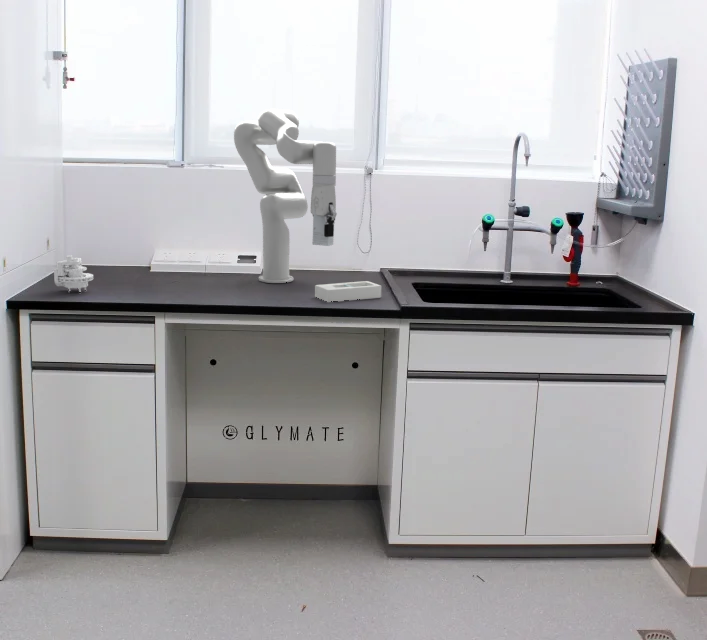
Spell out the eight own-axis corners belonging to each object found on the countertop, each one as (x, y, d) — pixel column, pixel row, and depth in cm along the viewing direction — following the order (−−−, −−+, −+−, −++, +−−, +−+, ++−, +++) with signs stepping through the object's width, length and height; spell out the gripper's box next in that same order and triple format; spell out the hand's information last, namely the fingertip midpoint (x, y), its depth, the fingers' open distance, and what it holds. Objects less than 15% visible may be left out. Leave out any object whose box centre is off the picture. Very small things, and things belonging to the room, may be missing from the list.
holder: (315, 297, 261) (315, 285, 260) (367, 292, 270) (367, 281, 270) (327, 302, 253) (327, 290, 252) (380, 297, 263) (381, 285, 262)
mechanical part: (82, 296, 253) (80, 259, 250) (48, 293, 255) (46, 257, 252) (100, 289, 263) (99, 254, 261) (68, 287, 266) (65, 252, 263)
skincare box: (311, 245, 262) (312, 208, 259) (318, 243, 266) (318, 207, 263) (328, 246, 259) (329, 209, 256) (334, 244, 263) (335, 208, 260)
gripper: (302, 179, 263) (302, 232, 267) (325, 182, 249) (325, 238, 252) (322, 179, 267) (322, 231, 271) (346, 182, 252) (345, 237, 256)
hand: (323, 234), depth 262 cm, fingers closed on skincare box, 7 cm apart
